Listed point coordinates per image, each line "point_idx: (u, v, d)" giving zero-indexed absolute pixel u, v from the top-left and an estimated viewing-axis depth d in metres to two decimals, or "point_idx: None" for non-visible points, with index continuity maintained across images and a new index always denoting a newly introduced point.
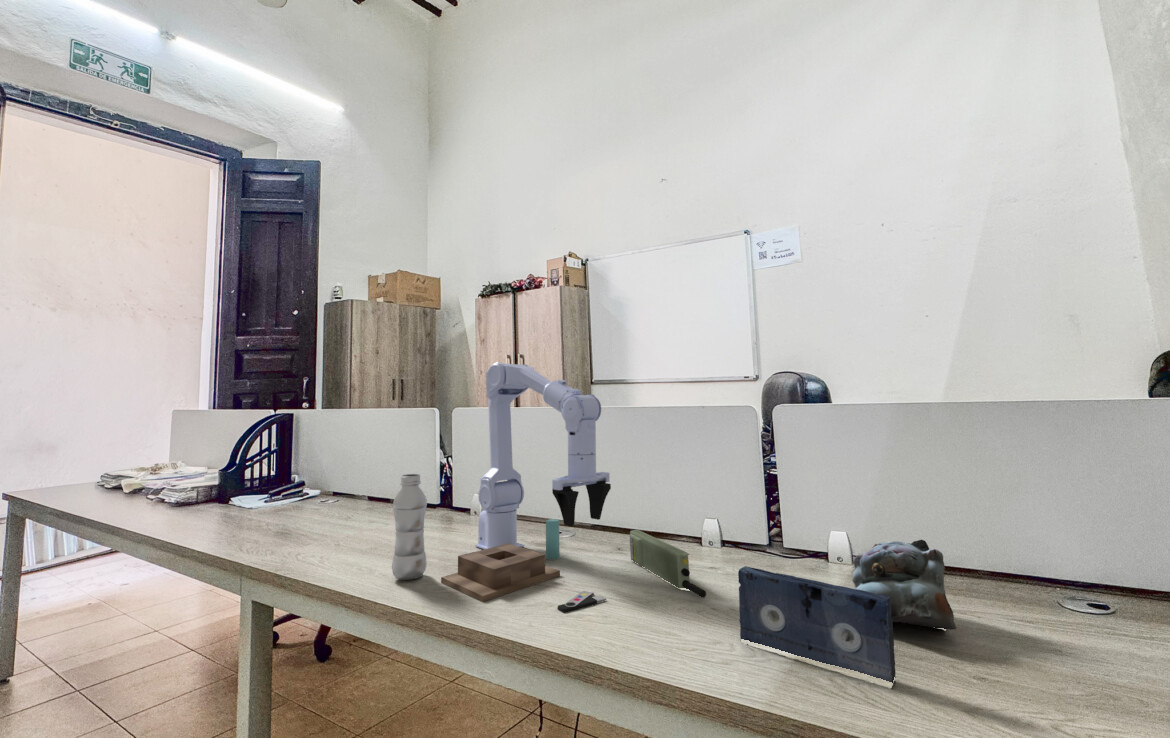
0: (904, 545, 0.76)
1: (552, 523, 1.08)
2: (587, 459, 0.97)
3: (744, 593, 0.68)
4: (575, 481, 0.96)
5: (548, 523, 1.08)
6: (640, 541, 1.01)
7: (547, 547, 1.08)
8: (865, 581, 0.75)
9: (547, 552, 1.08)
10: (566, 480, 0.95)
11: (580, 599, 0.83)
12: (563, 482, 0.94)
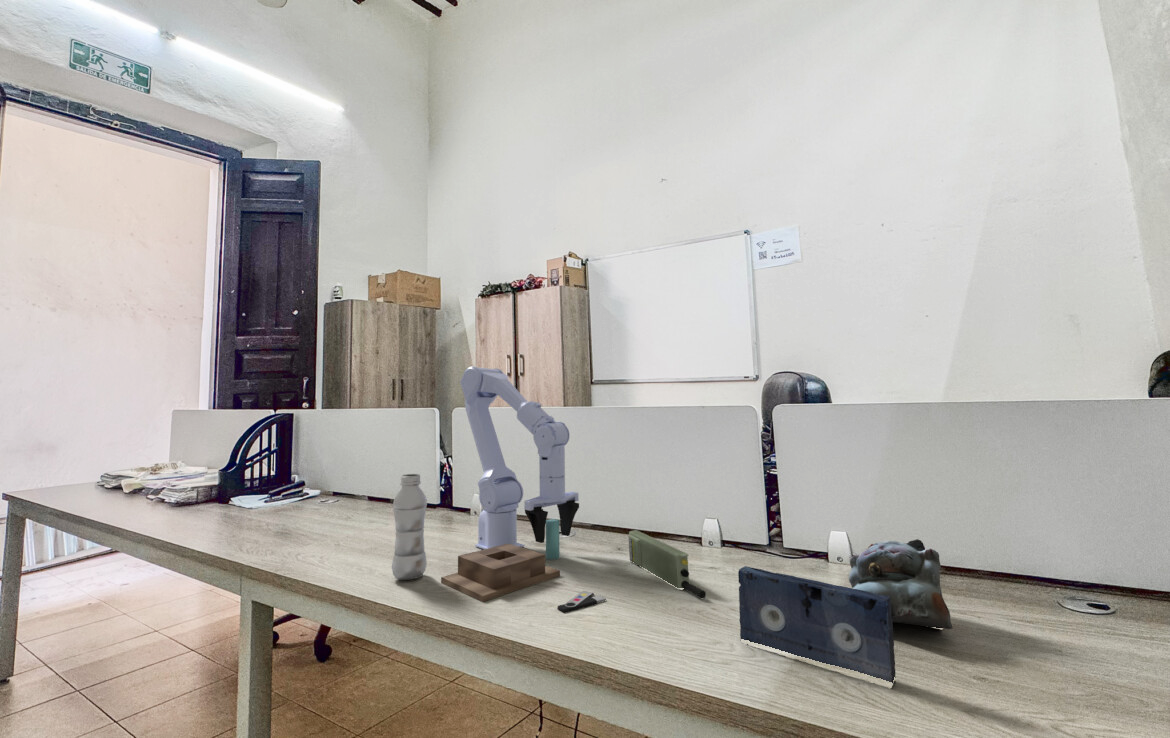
0: (900, 545, 0.76)
1: (552, 523, 1.08)
2: (556, 481, 1.07)
3: (744, 593, 0.68)
4: (545, 502, 1.06)
5: (548, 523, 1.08)
6: (639, 542, 1.01)
7: (547, 547, 1.08)
8: (862, 581, 0.75)
9: (547, 552, 1.08)
10: (537, 501, 1.05)
11: (580, 599, 0.83)
12: (534, 503, 1.05)
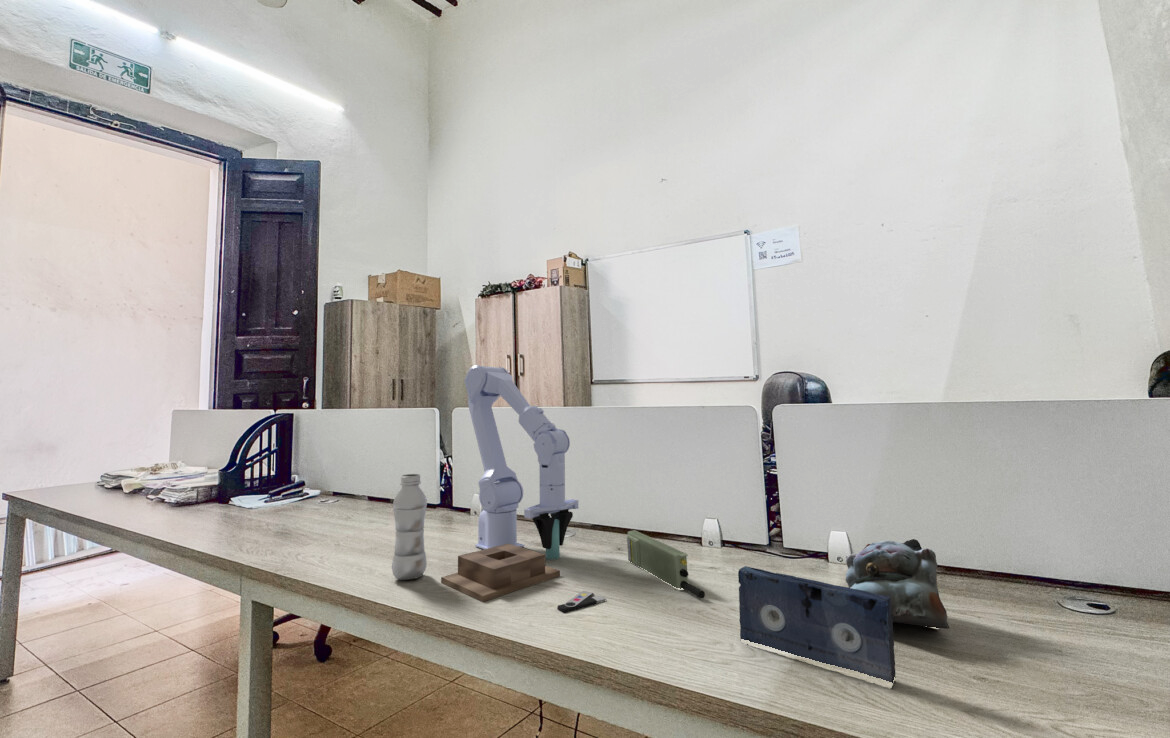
0: (897, 545, 0.76)
1: None
2: (556, 489, 1.07)
3: (744, 593, 0.68)
4: (545, 510, 1.06)
5: None
6: (638, 542, 1.01)
7: None
8: (859, 581, 0.75)
9: (547, 552, 1.08)
10: (536, 509, 1.05)
11: (580, 599, 0.83)
12: (534, 511, 1.04)
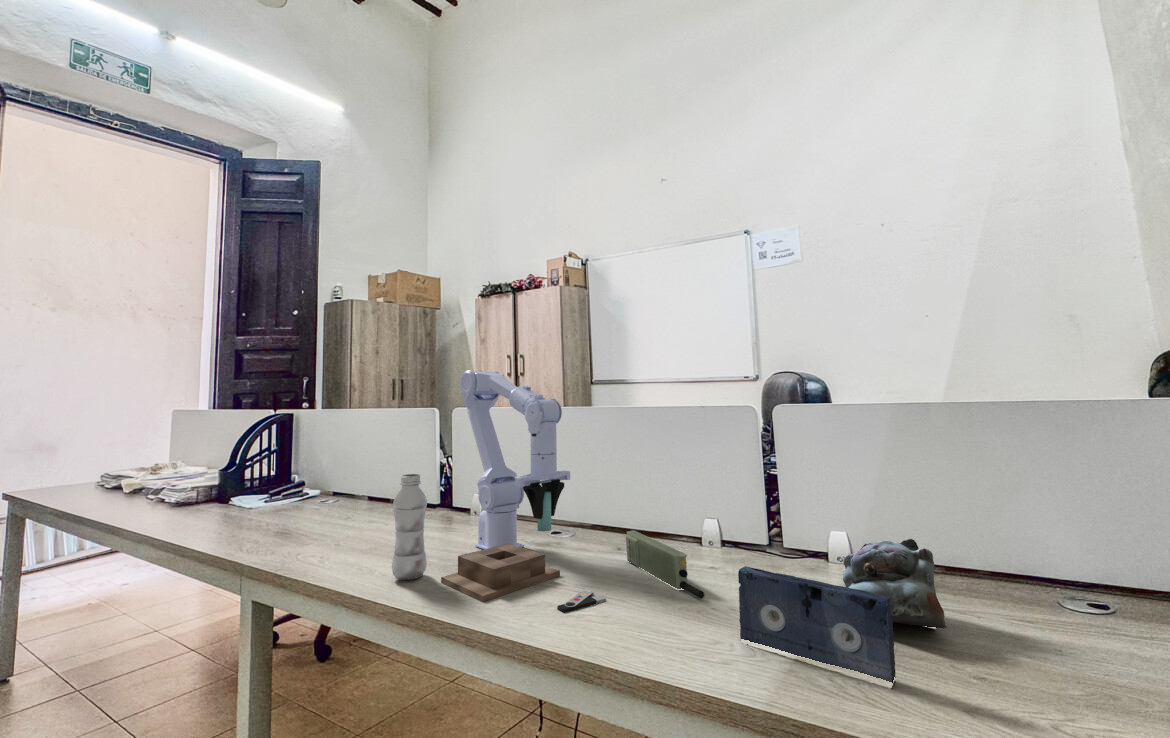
0: (894, 545, 0.76)
1: None
2: (547, 458, 1.05)
3: (744, 593, 0.68)
4: (536, 479, 1.04)
5: None
6: (637, 542, 1.01)
7: (539, 519, 1.06)
8: (857, 581, 0.75)
9: (539, 524, 1.06)
10: (527, 478, 1.03)
11: (580, 599, 0.83)
12: (524, 480, 1.02)
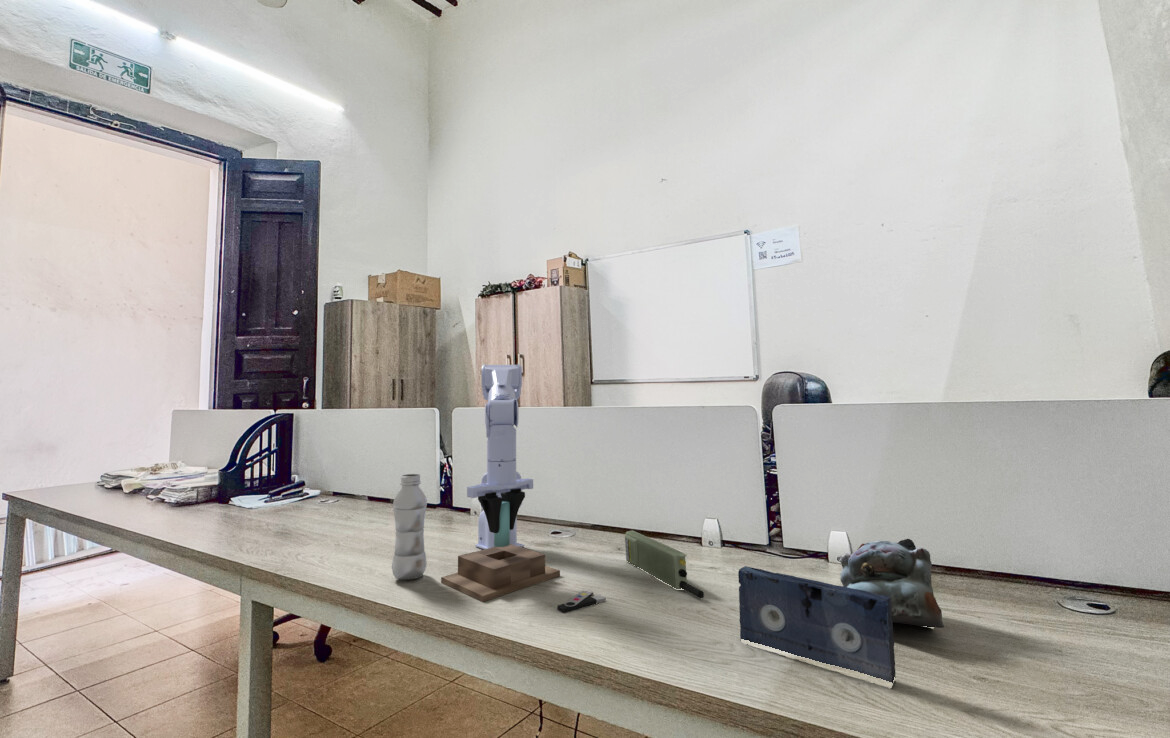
0: (892, 544, 0.76)
1: None
2: (505, 466, 0.94)
3: (744, 593, 0.68)
4: (491, 488, 0.93)
5: None
6: (636, 542, 1.01)
7: (495, 533, 0.95)
8: (854, 581, 0.75)
9: (495, 538, 0.95)
10: (481, 487, 0.92)
11: (580, 598, 0.83)
12: (477, 490, 0.92)
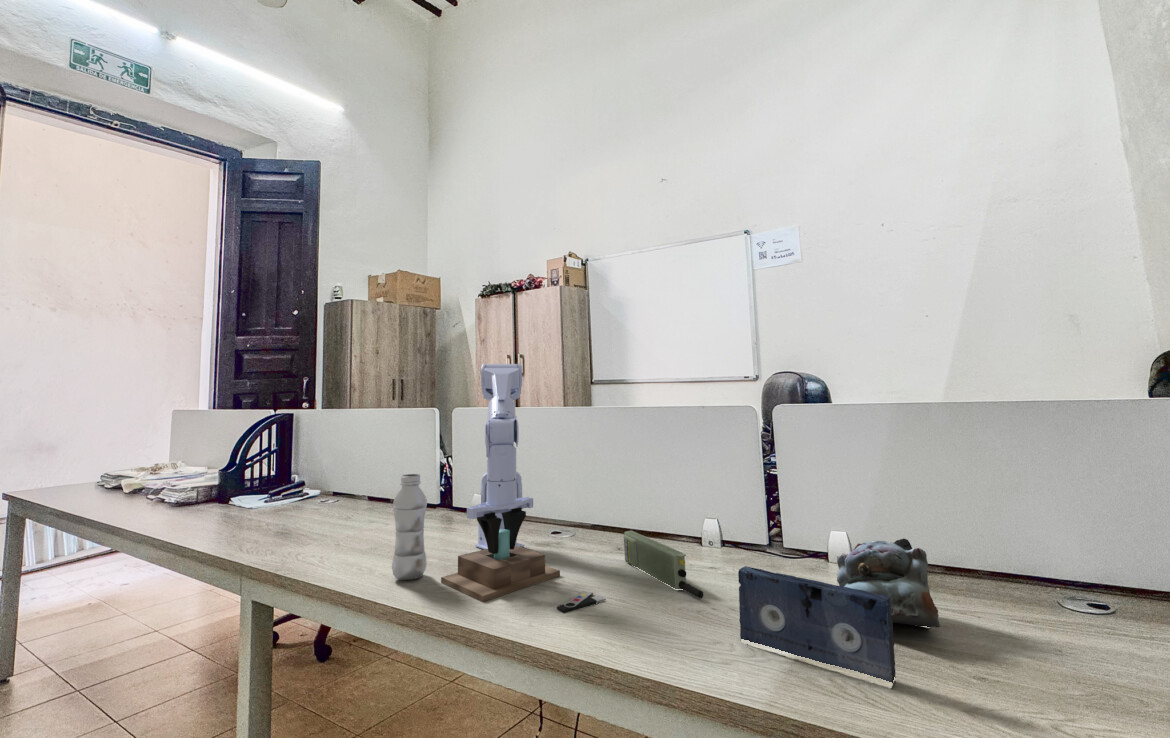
0: (888, 544, 0.76)
1: (500, 534, 0.94)
2: (505, 486, 0.94)
3: (744, 593, 0.68)
4: (491, 509, 0.92)
5: None
6: (635, 542, 1.01)
7: None
8: (851, 581, 0.75)
9: None
10: (481, 508, 0.92)
11: (580, 599, 0.83)
12: (477, 510, 0.91)
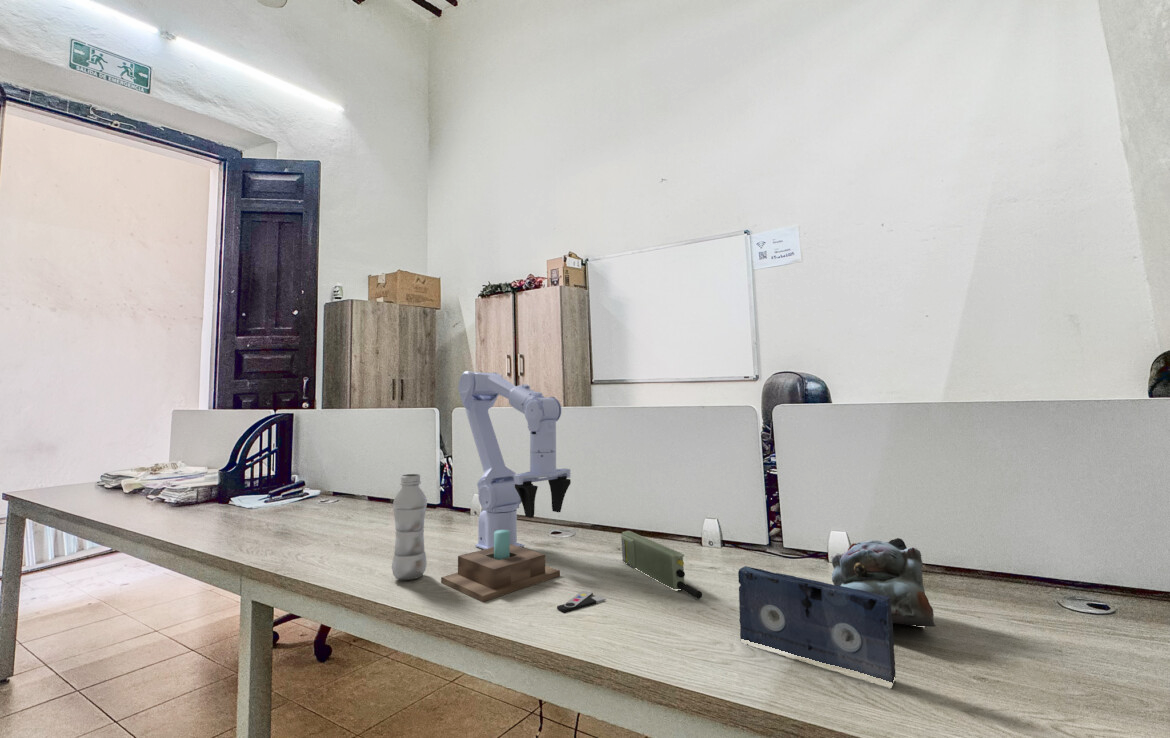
0: (883, 544, 0.76)
1: (500, 535, 0.94)
2: (547, 456, 1.06)
3: (744, 593, 0.68)
4: (535, 476, 1.04)
5: (496, 534, 0.95)
6: (633, 542, 1.01)
7: None
8: (847, 581, 0.75)
9: None
10: (526, 475, 1.03)
11: (580, 599, 0.83)
12: (523, 477, 1.03)
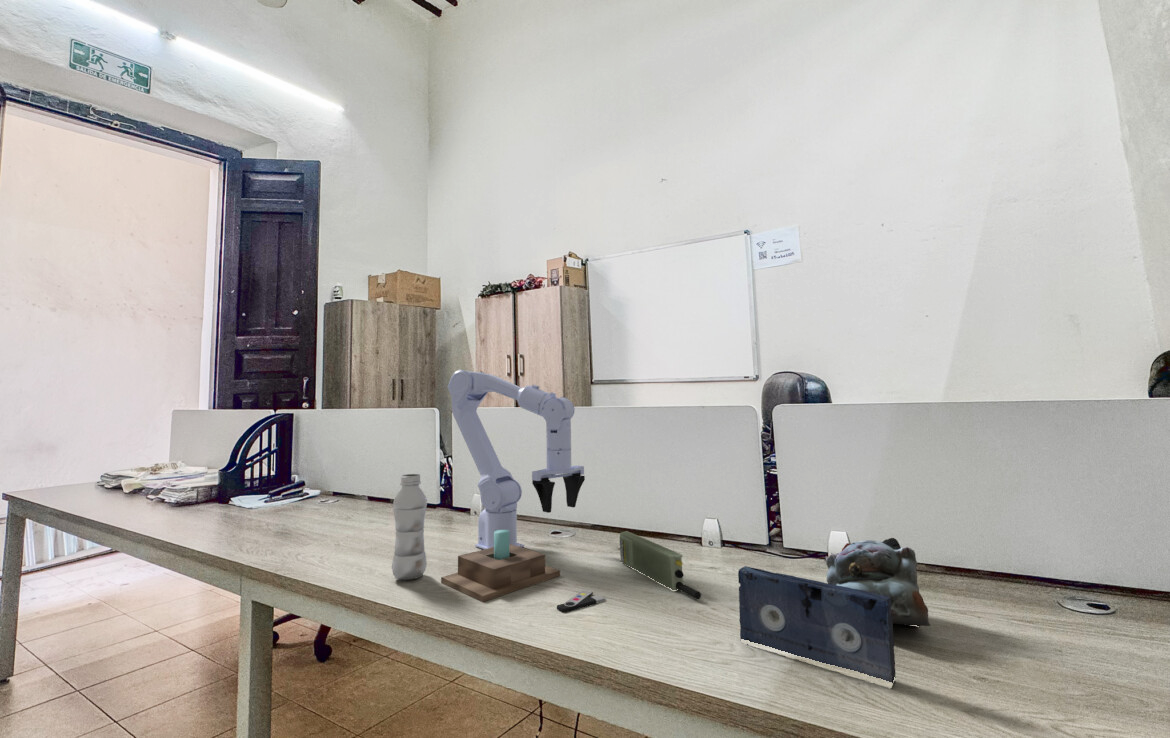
0: (877, 544, 0.76)
1: (500, 534, 0.94)
2: (563, 454, 1.11)
3: (744, 593, 0.68)
4: (552, 473, 1.09)
5: (496, 534, 0.95)
6: (631, 543, 1.00)
7: None
8: (842, 581, 0.75)
9: None
10: (544, 472, 1.08)
11: (580, 598, 0.83)
12: (541, 474, 1.08)
